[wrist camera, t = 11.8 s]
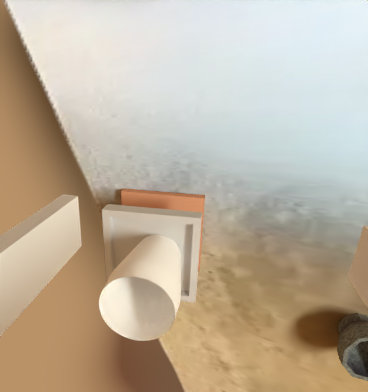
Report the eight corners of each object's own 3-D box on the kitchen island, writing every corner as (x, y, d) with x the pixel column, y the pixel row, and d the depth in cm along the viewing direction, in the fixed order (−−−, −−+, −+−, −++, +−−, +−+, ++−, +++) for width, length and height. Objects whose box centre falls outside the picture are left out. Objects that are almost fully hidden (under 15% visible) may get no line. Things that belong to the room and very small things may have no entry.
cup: (123, 268, 44) (90, 326, 33) (137, 218, 41) (106, 264, 30) (178, 287, 44) (164, 351, 33) (196, 238, 41) (187, 291, 30)
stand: (123, 188, 49) (101, 209, 40) (204, 195, 48) (201, 218, 39) (125, 259, 54) (106, 291, 45) (199, 266, 53) (195, 302, 43)
